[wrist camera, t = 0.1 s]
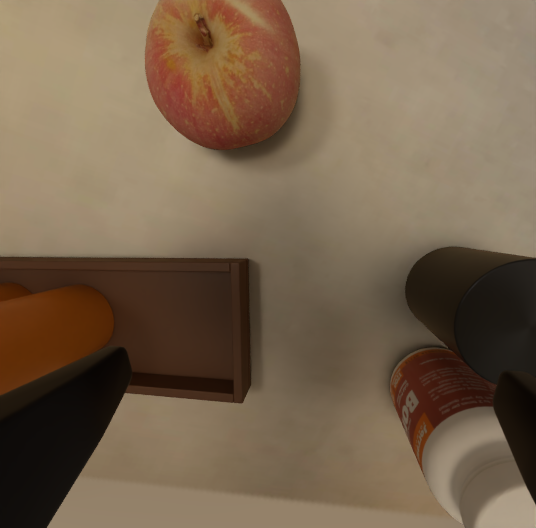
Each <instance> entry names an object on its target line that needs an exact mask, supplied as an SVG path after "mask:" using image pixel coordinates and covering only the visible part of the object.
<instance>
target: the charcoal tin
mask: <svg viewBox="0 0 536 528" xmlns="http://www.w3.org/2000/svg"><path fill="white" fill-rule="evenodd" d="M405 295H406V300H407V304H408V306H409V308H410V310H411V311H412V313H413V314H414V315H415V317H416V318H417V319H418V320H420V321H421V322H422V323H423V324H424V325H425V326H426V327H427V328H428V329H429V330H430V331H431V332H432V333H433V334H435V335H436V336H437V337H438V338H439V339H440V340H441V341H442V342H443V343H444V344H445V345H446V346H447V347H448V348H449V349H451V350H452V351H453V352H454V353H455V354H456V355H457V356H458V357H459V358H460V359H461V360H462V361H463V362H464V363H466V364H467V365H468V366H469V367H470V368H471V369H472V370H473V371H474V372H475V373H476V374H478V375H479V376H480V377H482V378H483V379H485V380H487V381H489V382H490V383H493V384H495V385H497V382H498V378H499V375H500V373H501V372H503V371H505V370H508V371H523V372H527V373H529V374H531V375H532V376H534V377H536V258H532V257H525V256H519V255H512V254H505V253H498V252H491V251H484V250H477V249H470V248H463V247H445V248H441V249H437V250H435V251H432V252H430V253H428V254H426V255H425V256H424V257H422V258H421V259H420V260H419V261H418V262H417V263H416V264H415V265H414V266H413V268H412V269H411V271H410V273H409V275H408V277H407V281H406V286H405Z"/></svg>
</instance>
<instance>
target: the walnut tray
mask: <svg viewBox="0 0 536 528" xmlns="http://www.w3.org/2000/svg"><path fill="white" fill-rule="evenodd" d="M1 283H16V284H19V285H21V286H23V287H25V288H26V289H27V290H29V291H30V292H31V293H32V294H36V293H41V292H45V291H49V290H53V289H58V288H62V287H66V286H70V285H76V284H81V285H86V286H90V287H92V288H94V289H96V290H97V291H98V292H100V293H101V294H102V295H103V296H104V297H105V299H106V300H107V301H108V303H109V305H110V307H111V309H112V312H113V316H114V329H113V333H112V336H111V338H110V340H109V341H108V343H107V344H106V345H105V346H104V347H103V348H105V347H108V346H122V347H124V348H125V349H126V350H127V353H128V356H129V360H130V364H131V368H132V379H131V381H130V384H129V386H128V388H127V389H126V391H125V393H132V394H143V395H154V396H165V397H176V398H187V399H198V400H209V401H220V402H231V403H233V402H234V403H243V401H244V399H245V397H246V395H247V392H248V390H249V388H250V386H251V372H250V323H249V273H248V259H221V258H54V257H0V284H1ZM103 348H101V349H103ZM101 349H99V350H101ZM99 350H98V351H99ZM96 352H97V351H96Z"/></svg>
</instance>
